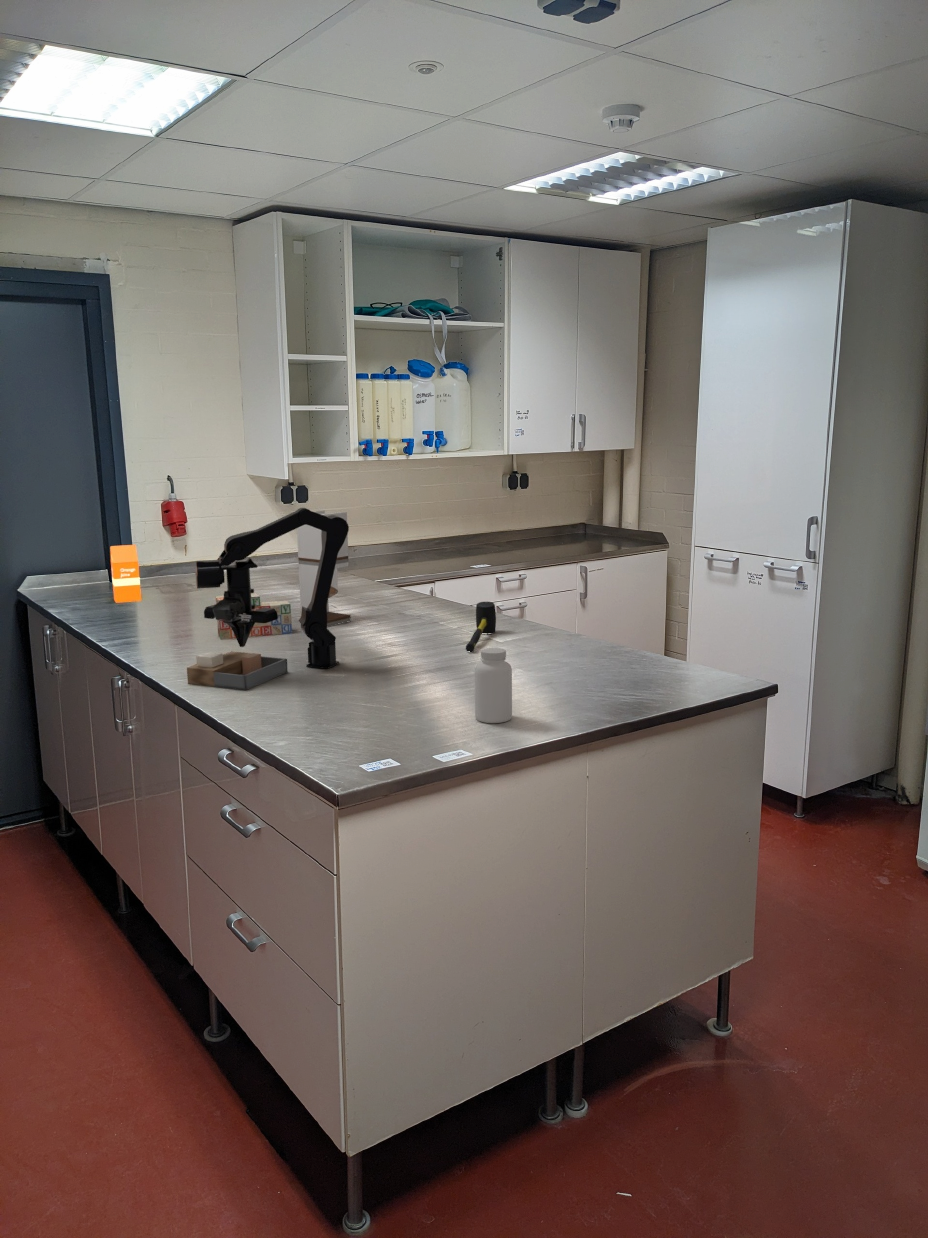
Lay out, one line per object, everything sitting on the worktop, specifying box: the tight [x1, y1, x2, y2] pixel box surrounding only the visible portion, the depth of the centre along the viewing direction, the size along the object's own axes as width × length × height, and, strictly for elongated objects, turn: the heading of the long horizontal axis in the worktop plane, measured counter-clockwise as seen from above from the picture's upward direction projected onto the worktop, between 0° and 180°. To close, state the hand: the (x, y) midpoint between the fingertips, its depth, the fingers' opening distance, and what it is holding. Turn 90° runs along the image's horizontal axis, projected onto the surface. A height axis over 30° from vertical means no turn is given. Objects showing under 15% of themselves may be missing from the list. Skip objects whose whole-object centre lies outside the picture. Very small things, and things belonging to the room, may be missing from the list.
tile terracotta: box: [242, 652, 262, 675], centre depth 239 cm, size 4×4×2 cm
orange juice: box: [110, 544, 142, 604], centre depth 342 cm, size 8×9×20 cm
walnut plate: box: [186, 650, 252, 688], centre depth 238 cm, size 8×18×4 cm, turn 157°
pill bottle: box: [473, 647, 513, 724], centre depth 200 cm, size 8×8×15 cm
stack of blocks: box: [215, 592, 293, 640], centre depth 284 cm, size 21×6×12 cm, turn 110°
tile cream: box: [195, 651, 223, 668], centre depth 233 cm, size 4×4×2 cm
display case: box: [296, 510, 352, 627], centre depth 298 cm, size 11×11×35 cm
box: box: [214, 655, 289, 691], centre depth 234 cm, size 9×18×4 cm, turn 157°
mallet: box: [465, 601, 497, 653], centre depth 272 cm, size 29×6×10 cm, turn 169°
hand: (242, 646), depth 240 cm, fingers closed
